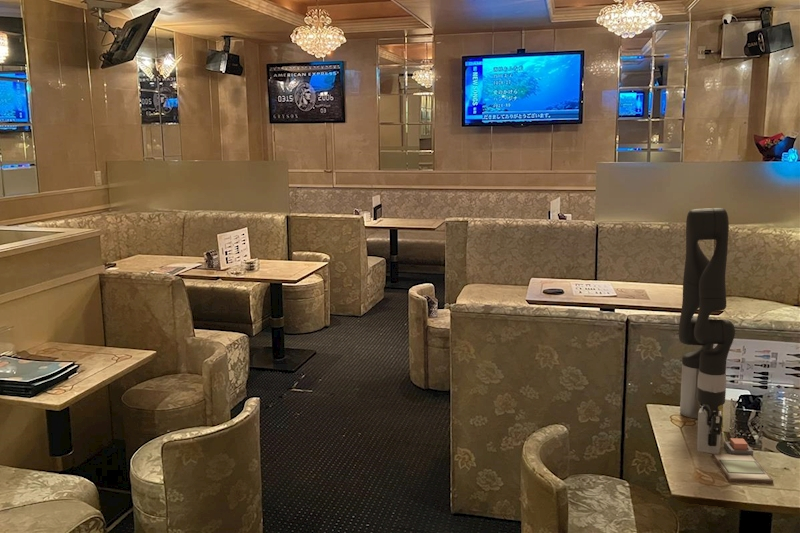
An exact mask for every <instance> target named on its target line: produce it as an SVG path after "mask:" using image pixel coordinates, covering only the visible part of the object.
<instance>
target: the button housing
mask: <svg viewBox="0 0 800 533" xmlns="http://www.w3.org/2000/svg"><path fill="white" fill-rule="evenodd" d="M723 449H724V450H725V451H726V453H727V454H735V455H752V456H753V457H754V450H753V449H752V448H751V446H749V444H748V448H747V450H742V449H733V448H732V447H731V445H730V441H724V442H723Z"/></svg>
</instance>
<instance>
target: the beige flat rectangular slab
mask: <svg viewBox="0 0 800 533" xmlns="http://www.w3.org/2000/svg"><path fill="white" fill-rule="evenodd" d="M710 454H711V456H710V458H711V459H712V460H713V462H714V464H716V466H717V467H718V469H719V470H720V471H721V473H722V474H723V476H724V477H725V478H726V481H728V483H739V484H740V483H741V484H742V483H743V484H747V483H748V484H766V485H768V484H770V485H774V479H773V478H772V477H771V476H770V475H769V474H768V472H767V471H766V470H765V468H763V466H762V465H761V464H760V463H759V461H758V460H757V459H756V458H755V457H754V455H753V456H752V455H735V454H728V453H727V454H726V453H719V454H713V453H710Z"/></svg>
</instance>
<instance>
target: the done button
mask: <svg viewBox="0 0 800 533" xmlns="http://www.w3.org/2000/svg"><path fill="white" fill-rule="evenodd" d="M729 442H730V445H731V447H732V448H733V449H742V450H747V448H748V445H749V444H748V443H747V441H746V440H745V439H744V438H737V437H735V438H734V437H732V438H731V437H730V438H729Z"/></svg>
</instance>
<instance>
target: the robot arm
mask: <svg viewBox="0 0 800 533" xmlns="http://www.w3.org/2000/svg"><path fill="white" fill-rule="evenodd" d="M729 222H730V221H729V215H728V212H727V210H726V209H725V208H723V207H711V208H710V207H708V208H694V209H693V208H692V209H690V210H689V211H688V213H687V215H686V222H685V226H686V227H685V261H684V269H683V277H682V278H683V279H682V280H683V281H682V304H681V311H680V317H679V318H680V319H679V323H678V339H679V341H680V342H681V344H683V345H690V346H691V345H692V346H701V347H700V348H698V349H696V350H694V351H690V352H687V353H684V354H683V355H682V358H681V379H680V380H681V381H680V382H681V384H680V404H679V412H680V414H681V415H682V416H684V417H687V418H690V419H696V420H698V412H699V410H700V408H701V410H702V411H704V414H705V416H706V417H705V419H706V425H707V426H708V445H709V446H716V444H717V435H720V434H721V435H722V433H721V426H722V419H723V420H724V417H723V418H722V416H718V415H720V412H719V410H718V407H719V406H720V405H723V406H724V405H725V403H726V395H727V393H726V391H727V374H726V372H727V359H728V356H729V354H730V350H731V347H732V345H733V342H734V339H735V336H736V327H735V326H734V323H733V322H732V321H731V320H729V319H713V318H712V317H710V316H711V314H712V313H716V312H721V311H724V310H725V309H726V308H727V292H726V291H727V289H726V288H727V287H726V269H727V259H728V248H729V247H728V246H729V232H730V231H729V229H730V228H729V226H730V224H729ZM706 240H707V241H708V240H711V241H712V240H715V248H714V252H713V254H712V257H711V258H710V260H709V258H708V257H707V256H706V255H705V253H704V252H703V251H702V249H701V248H700V245H699V241H706ZM697 311H698V313H697V316H694V315H695V313H696V312H697ZM715 345H716V346H715ZM714 346H715V347H714ZM709 421H712V422H711V423H709ZM714 428H715V430H714Z"/></svg>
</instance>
